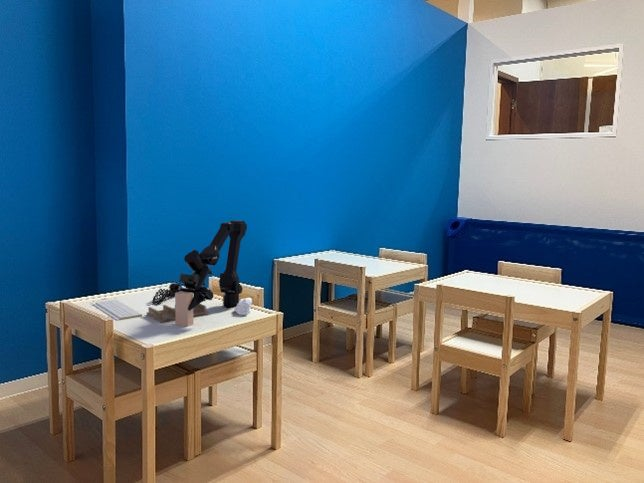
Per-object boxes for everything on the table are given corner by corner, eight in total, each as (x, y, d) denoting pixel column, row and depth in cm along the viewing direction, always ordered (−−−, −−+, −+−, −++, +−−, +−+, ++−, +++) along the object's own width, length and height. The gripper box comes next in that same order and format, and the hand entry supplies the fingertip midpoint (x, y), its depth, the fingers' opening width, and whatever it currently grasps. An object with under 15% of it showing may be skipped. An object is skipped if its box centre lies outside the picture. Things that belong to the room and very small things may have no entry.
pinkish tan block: (181, 322, 220) (180, 291, 219) (193, 324, 218) (192, 292, 216) (175, 324, 217) (175, 292, 216) (187, 326, 215) (187, 294, 213)
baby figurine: (240, 308, 245) (251, 293, 245) (251, 324, 237) (263, 309, 236) (226, 302, 239) (237, 287, 238) (237, 318, 231) (249, 303, 230)
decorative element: (160, 306, 246) (160, 293, 245) (150, 305, 247) (150, 292, 246) (181, 295, 268) (181, 283, 267) (171, 294, 269) (171, 282, 268)
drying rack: (191, 307, 244) (191, 299, 243) (208, 314, 233) (208, 306, 232) (146, 314, 230) (146, 306, 230) (161, 322, 219) (161, 314, 219)
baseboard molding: (113, 322, 220) (142, 317, 228) (113, 315, 220) (142, 311, 228) (89, 306, 244) (116, 302, 252) (89, 300, 244) (116, 296, 251)
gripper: (171, 263, 222) (153, 295, 213) (209, 267, 214) (192, 301, 206) (183, 279, 230) (167, 310, 221) (220, 283, 223) (204, 316, 214)
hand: (182, 309), depth 215 cm, fingers closed on pinkish tan block, 6 cm apart
